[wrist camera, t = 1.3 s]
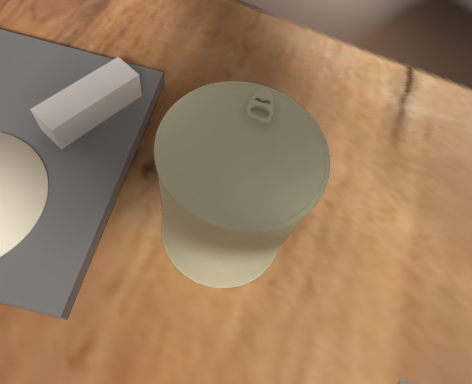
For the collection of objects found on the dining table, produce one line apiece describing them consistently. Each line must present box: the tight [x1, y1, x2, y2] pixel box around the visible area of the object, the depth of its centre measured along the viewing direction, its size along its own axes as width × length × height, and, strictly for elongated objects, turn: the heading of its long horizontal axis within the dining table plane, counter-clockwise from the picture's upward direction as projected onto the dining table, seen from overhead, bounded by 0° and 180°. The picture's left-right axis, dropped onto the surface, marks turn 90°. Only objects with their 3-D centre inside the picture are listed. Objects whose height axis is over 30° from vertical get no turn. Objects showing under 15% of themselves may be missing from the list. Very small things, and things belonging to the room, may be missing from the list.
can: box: [154, 81, 330, 288], centre depth 24 cm, size 9×9×12 cm
